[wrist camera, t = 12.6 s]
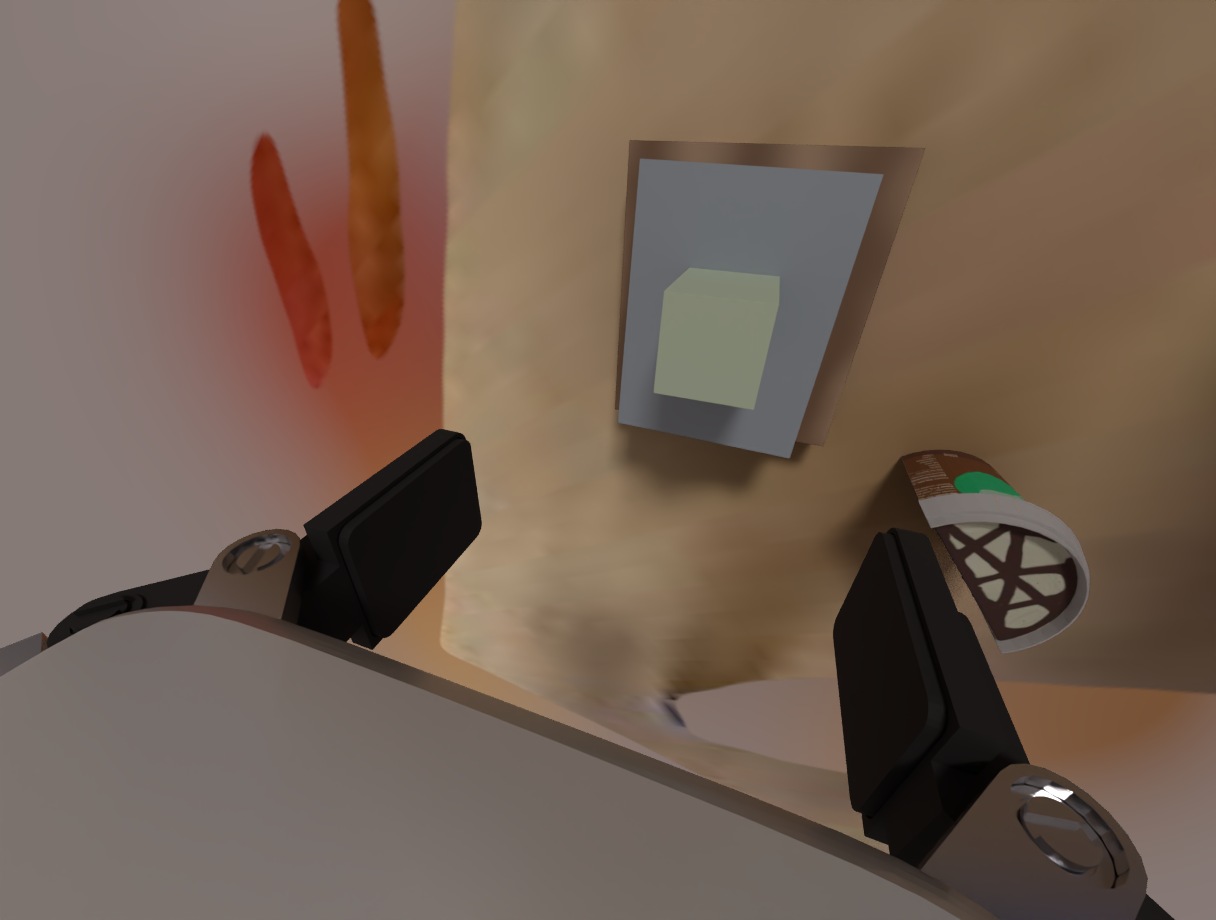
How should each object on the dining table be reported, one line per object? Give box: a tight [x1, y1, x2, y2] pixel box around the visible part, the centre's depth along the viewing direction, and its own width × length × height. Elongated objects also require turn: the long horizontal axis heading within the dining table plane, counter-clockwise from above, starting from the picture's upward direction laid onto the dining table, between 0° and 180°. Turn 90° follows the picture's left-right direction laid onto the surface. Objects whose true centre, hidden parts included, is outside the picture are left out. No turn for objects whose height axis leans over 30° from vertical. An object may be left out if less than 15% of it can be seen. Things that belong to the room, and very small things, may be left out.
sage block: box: [654, 268, 780, 410], centre depth 24 cm, size 5×5×7 cm
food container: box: [901, 450, 1090, 654], centre depth 30 cm, size 12×6×10 cm, turn 38°
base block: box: [615, 140, 925, 446], centre depth 32 cm, size 16×18×4 cm
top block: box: [618, 159, 884, 458], centre depth 29 cm, size 12×16×4 cm
